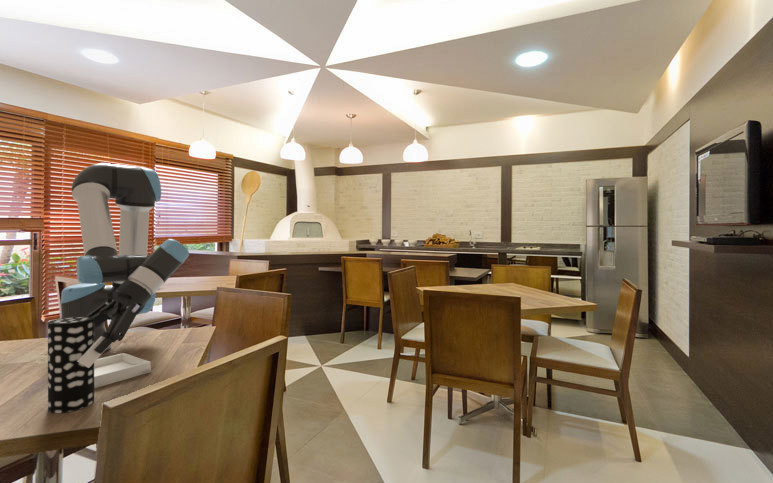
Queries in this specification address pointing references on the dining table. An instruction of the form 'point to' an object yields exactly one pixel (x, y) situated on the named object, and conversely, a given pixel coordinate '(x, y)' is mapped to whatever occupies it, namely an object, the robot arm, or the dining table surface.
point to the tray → (118, 368)
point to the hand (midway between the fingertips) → (70, 359)
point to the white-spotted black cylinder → (69, 364)
